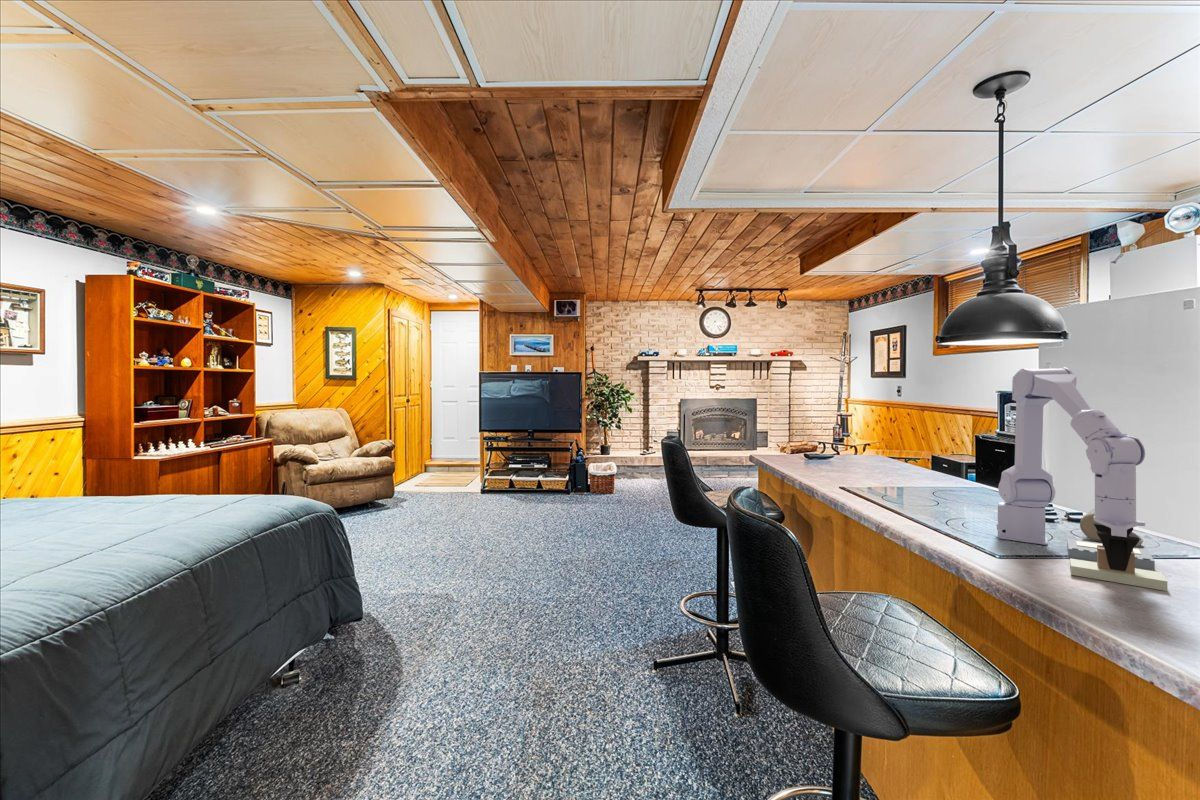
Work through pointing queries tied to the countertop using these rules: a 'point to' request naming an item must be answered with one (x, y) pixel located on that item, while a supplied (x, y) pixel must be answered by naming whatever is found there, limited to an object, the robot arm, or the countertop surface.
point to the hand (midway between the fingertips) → (1115, 564)
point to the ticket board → (1089, 549)
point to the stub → (1118, 572)
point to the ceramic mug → (1091, 530)
